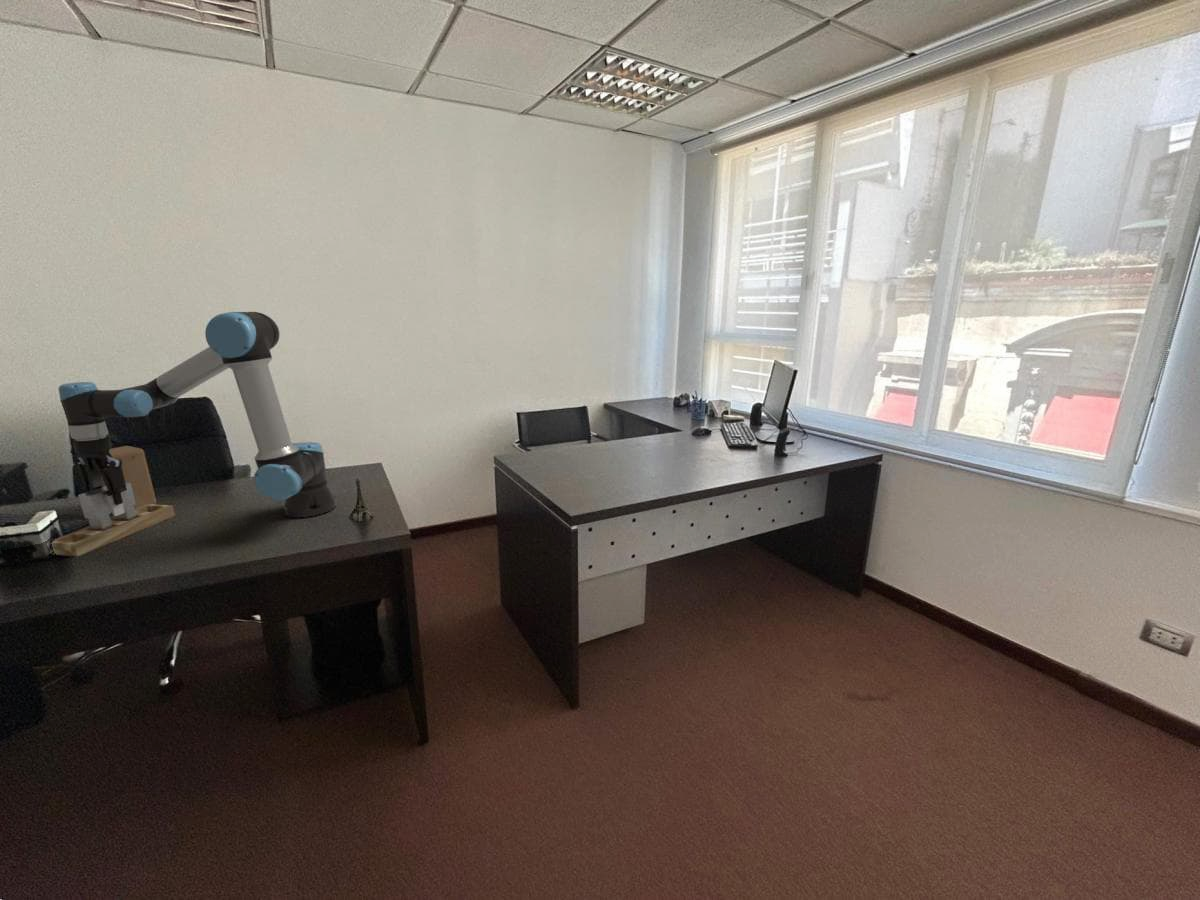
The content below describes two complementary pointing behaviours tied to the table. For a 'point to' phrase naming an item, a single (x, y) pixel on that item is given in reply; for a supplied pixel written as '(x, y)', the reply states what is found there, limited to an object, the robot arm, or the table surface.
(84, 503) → the grey concrete brick
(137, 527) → the rail
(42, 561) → the table surface
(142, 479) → the wooden block
